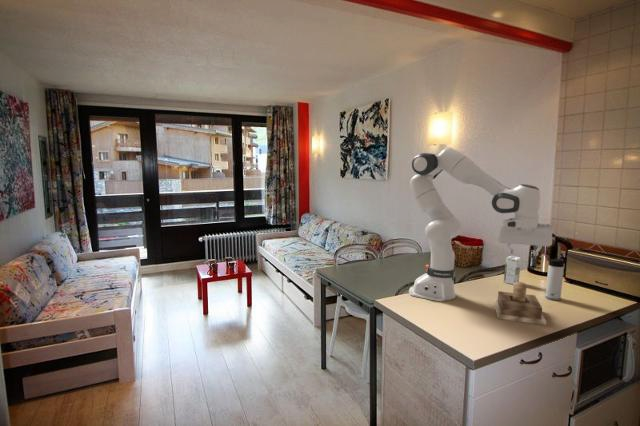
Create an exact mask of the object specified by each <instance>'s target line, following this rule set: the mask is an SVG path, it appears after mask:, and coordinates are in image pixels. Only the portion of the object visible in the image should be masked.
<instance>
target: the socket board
mask: <svg viewBox="0 0 640 426" xmlns="http://www.w3.org/2000/svg"><path fill="white" fill-rule="evenodd" d="M512 298H513V292H508V291H502V290H500V291H498V292H497V299H493V306H494V309H495V314H496V317H497V319H498V320H499V319H500V320H506V321H514V322H520V323H521V322H522V323H529V324H537V325H543V326H546V325H547V320H546V319H545V317H544V315H543V307H542V305H541V303H540V302H539V299H538V298H537V296H536V295H534V294H527V293H526V299H525V300H526V302H525V303H524V302H515V301H512Z"/></svg>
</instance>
